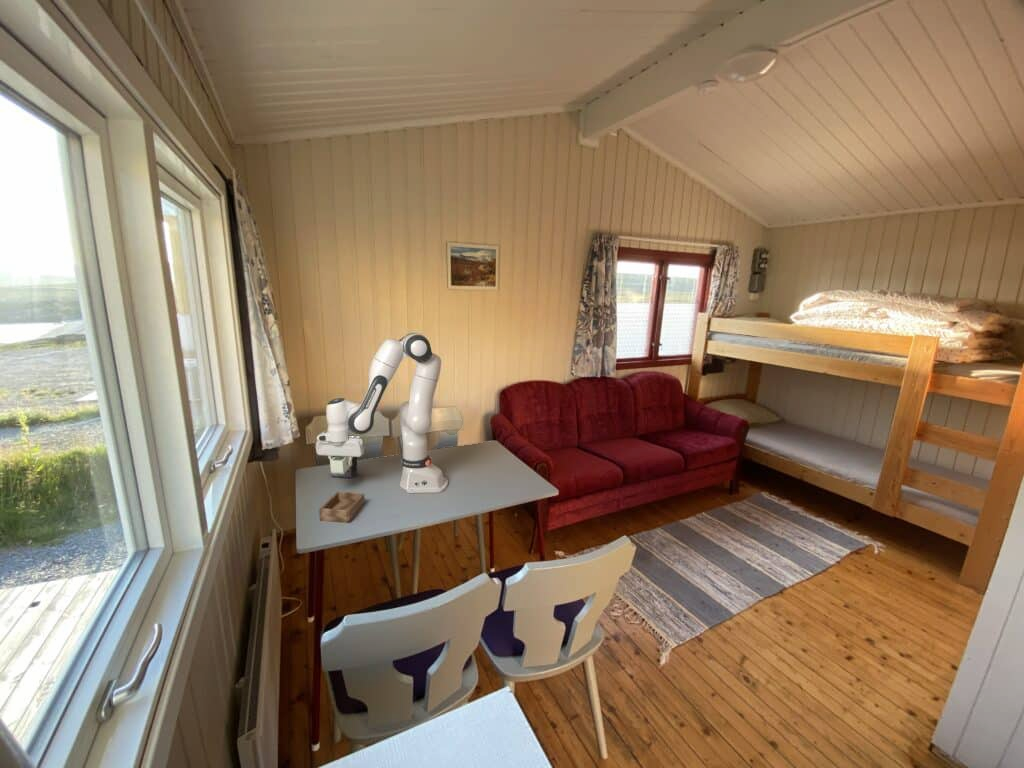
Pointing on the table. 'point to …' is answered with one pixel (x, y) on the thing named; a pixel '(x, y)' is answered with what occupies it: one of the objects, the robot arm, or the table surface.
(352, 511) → the walnut crate
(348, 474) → the small box
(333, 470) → the sage crate
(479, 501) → the table surface
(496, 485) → the table surface
